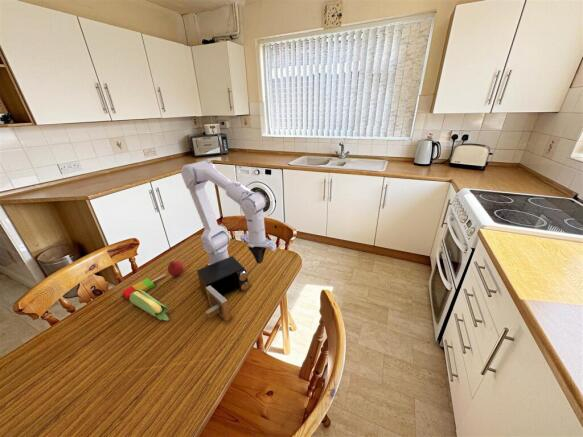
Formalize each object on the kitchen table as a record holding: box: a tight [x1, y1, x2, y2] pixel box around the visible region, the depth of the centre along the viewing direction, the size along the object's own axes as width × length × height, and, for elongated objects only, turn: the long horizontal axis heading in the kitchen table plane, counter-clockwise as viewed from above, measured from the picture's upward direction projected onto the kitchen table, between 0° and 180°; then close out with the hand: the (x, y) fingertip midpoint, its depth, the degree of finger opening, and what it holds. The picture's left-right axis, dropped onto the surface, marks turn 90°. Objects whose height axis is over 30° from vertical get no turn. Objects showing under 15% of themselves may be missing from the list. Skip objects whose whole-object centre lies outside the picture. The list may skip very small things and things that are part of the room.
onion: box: [167, 258, 185, 277], centre depth 94 cm, size 6×6×8 cm
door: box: [205, 286, 231, 322], centre depth 75 cm, size 6×10×8 cm, turn 47°
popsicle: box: [122, 273, 167, 301], centre depth 91 cm, size 6×15×2 cm, turn 144°
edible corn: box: [128, 290, 170, 321], centre depth 79 cm, size 5×20×5 cm, turn 59°
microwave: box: [196, 255, 250, 298], centre depth 87 cm, size 12×14×8 cm
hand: (259, 261), depth 86 cm, fingers closed
